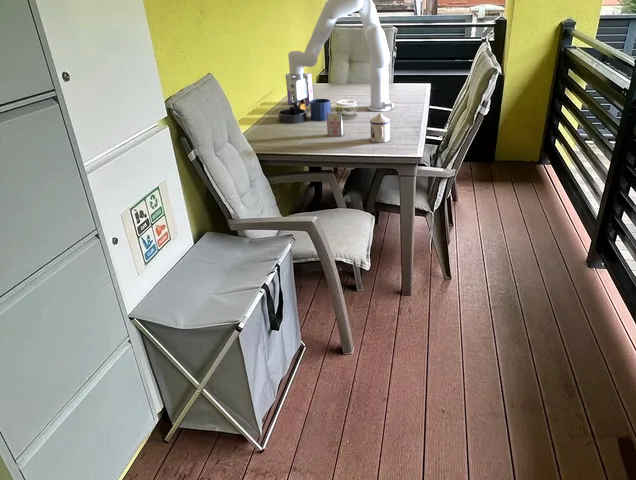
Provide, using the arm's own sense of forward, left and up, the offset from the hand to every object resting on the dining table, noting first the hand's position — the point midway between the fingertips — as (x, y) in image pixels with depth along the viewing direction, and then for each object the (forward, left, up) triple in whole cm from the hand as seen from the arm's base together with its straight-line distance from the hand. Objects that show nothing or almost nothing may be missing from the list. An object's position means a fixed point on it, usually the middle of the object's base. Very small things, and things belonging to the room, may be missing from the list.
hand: (300, 111), depth 293 cm
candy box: (+12, -17, -1) cm, 21 cm away
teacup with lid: (-66, +28, -1) cm, 72 cm away
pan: (-6, +15, 0) cm, 16 cm away
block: (0, 0, 0) cm, 0 cm away
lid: (-6, +15, +1) cm, 16 cm away
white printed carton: (-42, +29, -1) cm, 51 cm away
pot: (-18, +6, 0) cm, 19 cm away
